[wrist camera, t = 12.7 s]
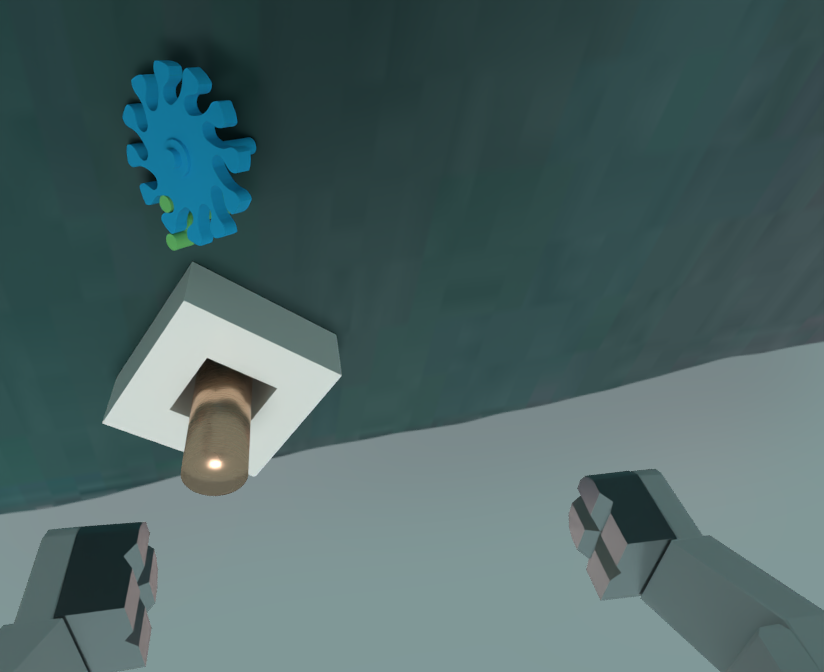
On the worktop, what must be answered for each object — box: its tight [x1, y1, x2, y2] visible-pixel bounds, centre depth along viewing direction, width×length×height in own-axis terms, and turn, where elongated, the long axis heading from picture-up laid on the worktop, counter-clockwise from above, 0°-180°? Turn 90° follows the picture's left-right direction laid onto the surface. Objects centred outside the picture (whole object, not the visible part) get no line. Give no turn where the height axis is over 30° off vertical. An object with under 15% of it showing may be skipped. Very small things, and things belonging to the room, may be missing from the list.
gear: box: [123, 60, 256, 250], centre depth 37 cm, size 11×6×10 cm
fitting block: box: [102, 261, 342, 476], centre depth 46 cm, size 12×12×5 cm
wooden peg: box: [181, 358, 253, 496], centre depth 43 cm, size 4×4×12 cm
